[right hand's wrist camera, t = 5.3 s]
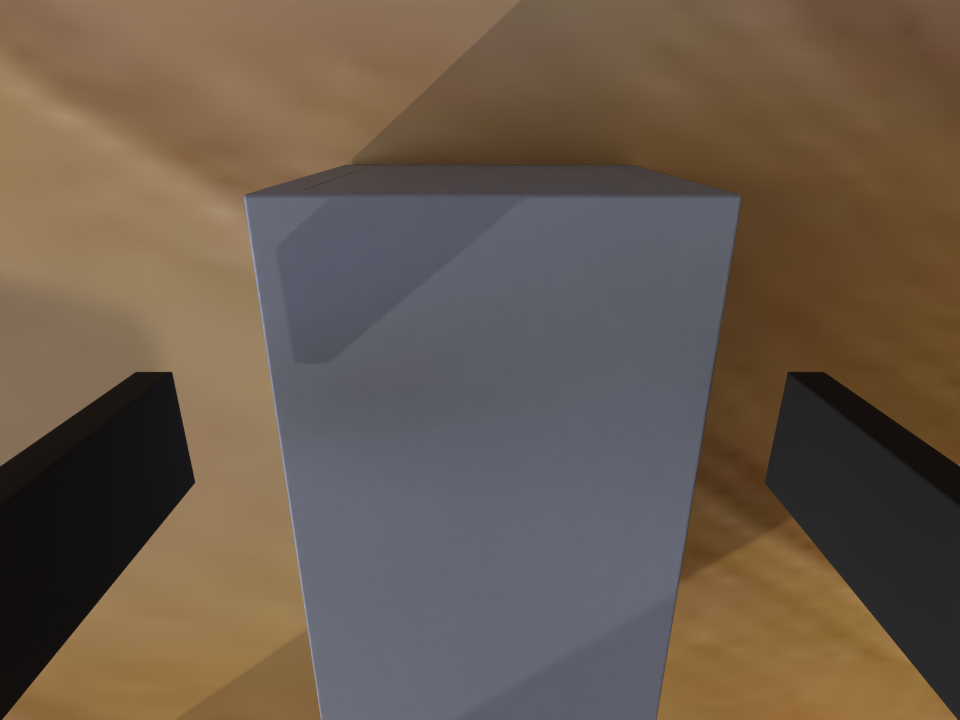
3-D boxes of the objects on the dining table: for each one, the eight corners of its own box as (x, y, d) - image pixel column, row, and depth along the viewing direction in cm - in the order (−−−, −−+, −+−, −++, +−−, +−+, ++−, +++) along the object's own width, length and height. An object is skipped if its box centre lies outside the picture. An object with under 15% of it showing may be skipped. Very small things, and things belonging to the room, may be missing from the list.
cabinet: (595, 571, 27) (647, 780, 19) (378, 570, 27) (329, 778, 19) (633, 164, 20) (744, 194, 12) (344, 164, 20) (241, 194, 12)
